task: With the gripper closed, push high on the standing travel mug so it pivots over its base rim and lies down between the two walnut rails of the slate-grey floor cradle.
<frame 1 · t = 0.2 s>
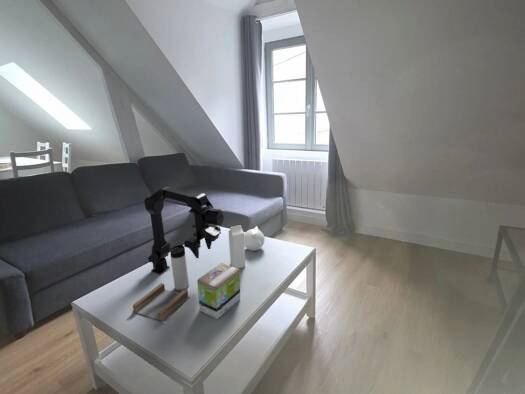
hand: (203, 253, 130), 14 cm above the table, fingers open, 9 cm apart
travel mug: (182, 287, 129), on the table
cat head: (253, 249, 163), on the table
tea box: (220, 305, 117), on the table
milk: (237, 265, 146), on the table
cradle: (162, 304, 118), on the table
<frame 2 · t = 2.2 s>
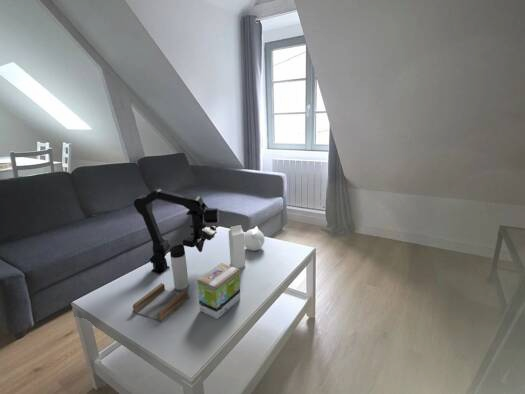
hand: (200, 251, 140), 10 cm above the table, fingers closed
nothing on the table moved.
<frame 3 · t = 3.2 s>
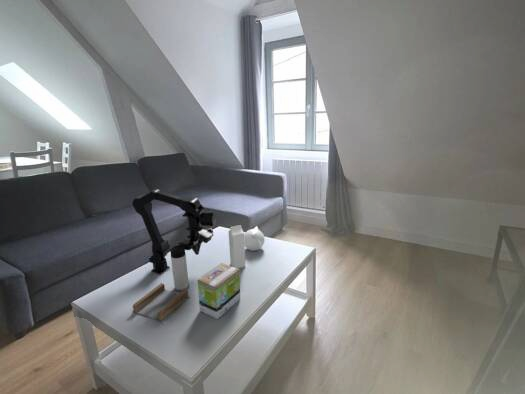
hand: (197, 254, 138), 10 cm above the table, fingers closed
nothing on the table moved.
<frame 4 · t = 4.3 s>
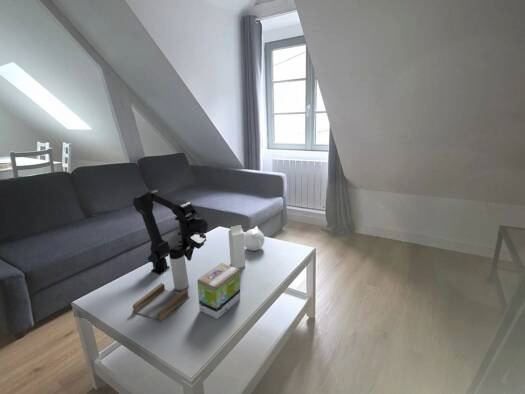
hand: (189, 260, 132), 10 cm above the table, fingers closed
travel mug: (182, 287, 129), on the table, touching gripper
everything else where it was.
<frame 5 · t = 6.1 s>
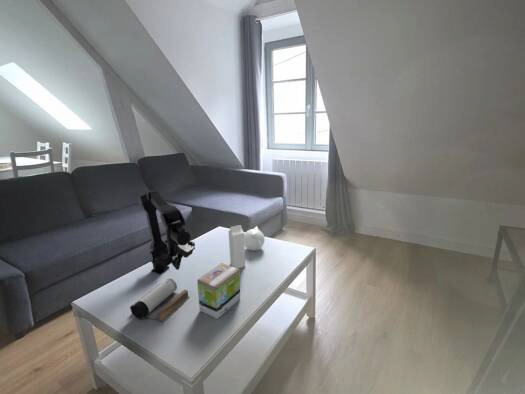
hand: (177, 269, 125), 10 cm above the table, fingers closed
travel mug: (171, 283, 125), point 4 cm above the table, touching cradle
everything else where it was.
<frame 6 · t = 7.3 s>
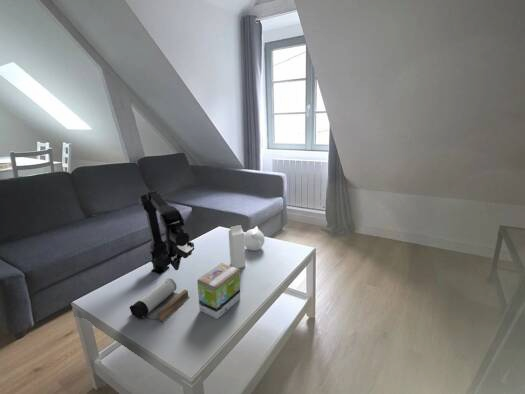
hand: (176, 270, 124), 10 cm above the table, fingers closed
nothing on the table moved.
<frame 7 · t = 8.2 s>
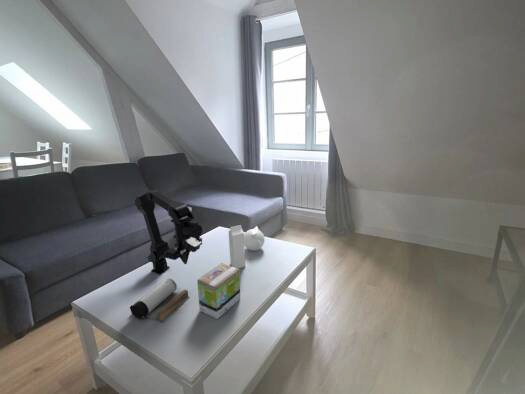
hand: (185, 263, 130), 10 cm above the table, fingers closed
nothing on the table moved.
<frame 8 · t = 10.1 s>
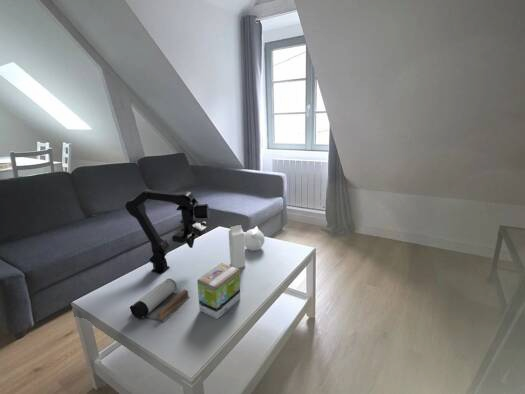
hand: (191, 247, 139), 12 cm above the table, fingers closed
nothing on the table moved.
at the end: travel mug tilted 90°; travel mug inside the target area (8.3 cm from its centre), point 3.6 cm above the table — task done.
